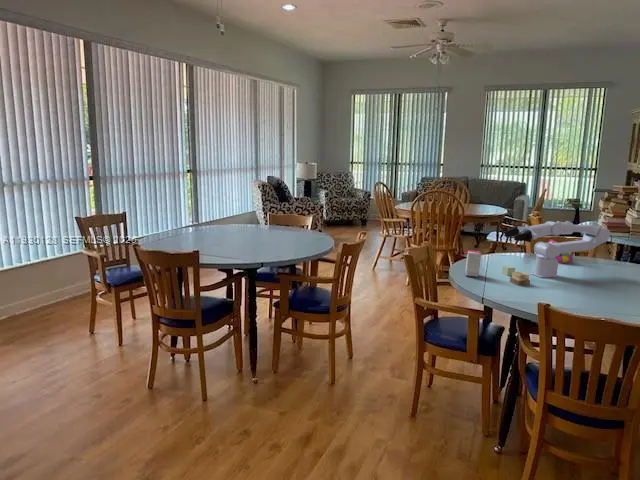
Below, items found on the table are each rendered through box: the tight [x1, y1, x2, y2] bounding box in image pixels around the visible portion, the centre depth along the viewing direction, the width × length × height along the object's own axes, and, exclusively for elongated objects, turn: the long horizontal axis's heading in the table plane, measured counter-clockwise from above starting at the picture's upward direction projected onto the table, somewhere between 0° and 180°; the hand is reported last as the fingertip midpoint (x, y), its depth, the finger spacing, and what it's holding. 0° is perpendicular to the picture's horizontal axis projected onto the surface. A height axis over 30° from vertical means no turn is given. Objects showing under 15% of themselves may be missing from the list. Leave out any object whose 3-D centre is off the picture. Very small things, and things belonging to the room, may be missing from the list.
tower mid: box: [511, 271, 530, 281], centre depth 220 cm, size 5×5×2 cm
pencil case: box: [547, 239, 574, 264], centre depth 270 cm, size 22×9×9 cm, turn 175°
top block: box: [501, 265, 516, 277], centre depth 235 cm, size 4×4×4 cm
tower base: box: [509, 276, 531, 287], centre depth 221 cm, size 6×6×2 cm
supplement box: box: [464, 250, 482, 279], centre depth 230 cm, size 6×6×12 cm
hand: (509, 236), depth 227 cm, fingers open, 7 cm apart
